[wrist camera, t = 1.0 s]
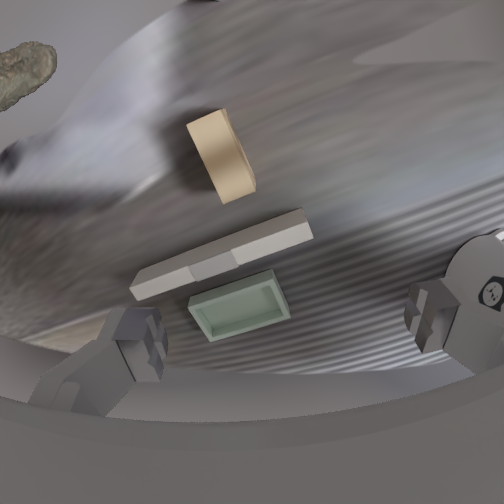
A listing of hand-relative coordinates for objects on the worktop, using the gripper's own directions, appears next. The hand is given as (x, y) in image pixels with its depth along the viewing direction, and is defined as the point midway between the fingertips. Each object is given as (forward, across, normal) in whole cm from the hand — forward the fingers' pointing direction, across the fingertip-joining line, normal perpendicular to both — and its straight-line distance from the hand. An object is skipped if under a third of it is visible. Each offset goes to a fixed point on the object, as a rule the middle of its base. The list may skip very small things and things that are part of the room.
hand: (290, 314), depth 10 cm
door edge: (+33, +6, +14) cm, 36 cm away
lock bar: (+33, +4, 0) cm, 33 cm away
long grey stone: (+35, +43, -18) cm, 58 cm away
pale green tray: (+32, +4, +23) cm, 40 cm away
